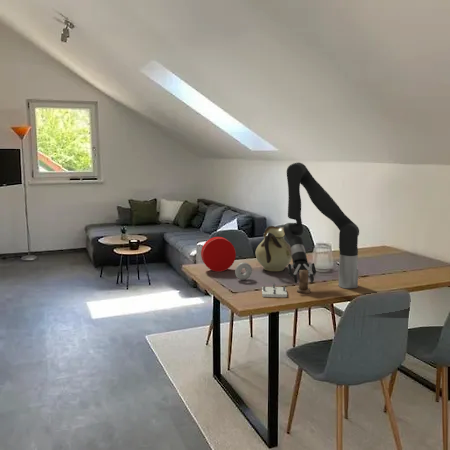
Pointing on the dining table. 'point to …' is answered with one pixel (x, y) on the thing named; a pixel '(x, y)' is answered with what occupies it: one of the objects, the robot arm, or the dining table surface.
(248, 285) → the dining table surface
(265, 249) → the tied beige sack
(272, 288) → the locating plate
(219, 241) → the red round disc
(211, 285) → the dining table surface
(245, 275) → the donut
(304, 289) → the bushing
